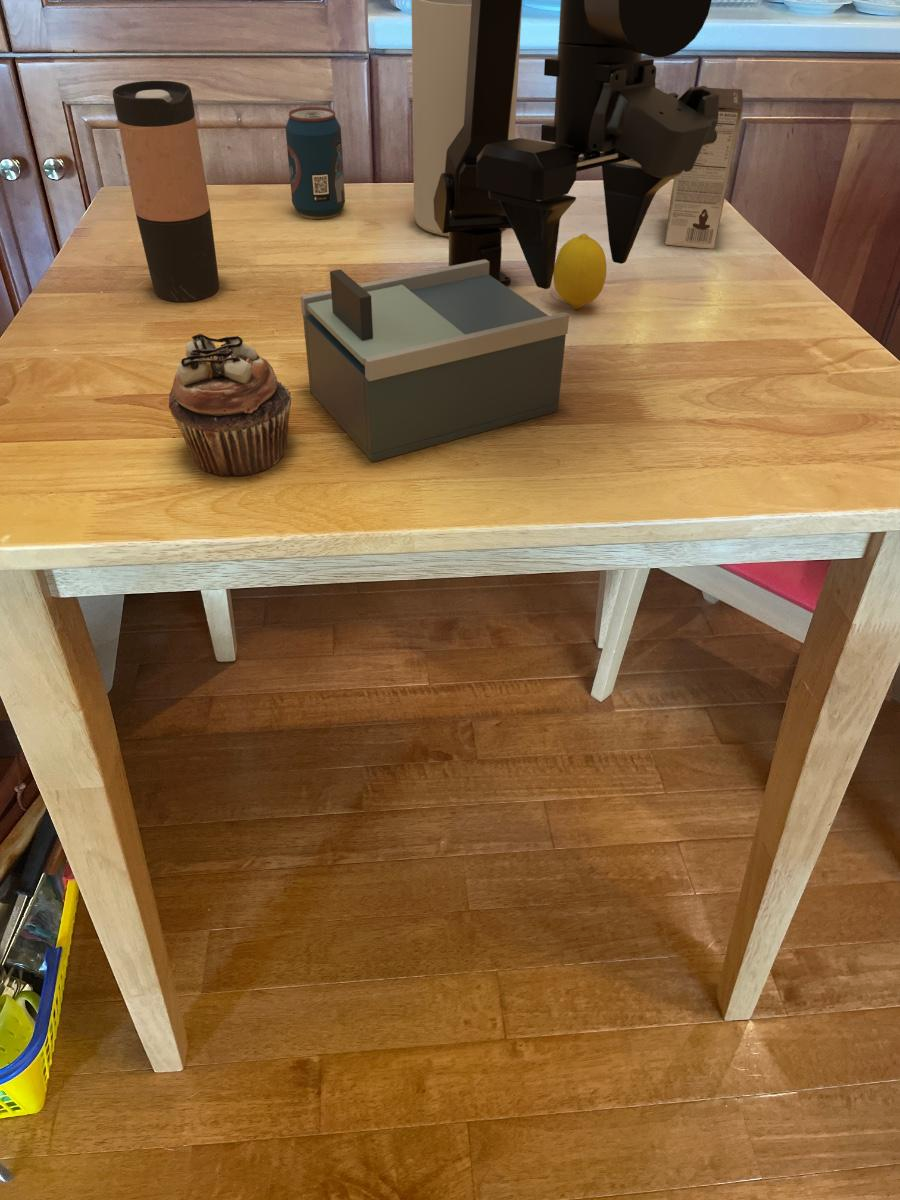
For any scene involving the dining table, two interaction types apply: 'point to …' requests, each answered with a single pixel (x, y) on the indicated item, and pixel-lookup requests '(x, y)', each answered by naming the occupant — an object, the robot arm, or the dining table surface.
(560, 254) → the lemon
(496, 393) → the chest
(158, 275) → the travel mug
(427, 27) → the cylinder vase
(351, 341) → the slide door
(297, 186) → the soda can
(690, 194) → the coffee box
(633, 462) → the dining table surface
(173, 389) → the cupcake
